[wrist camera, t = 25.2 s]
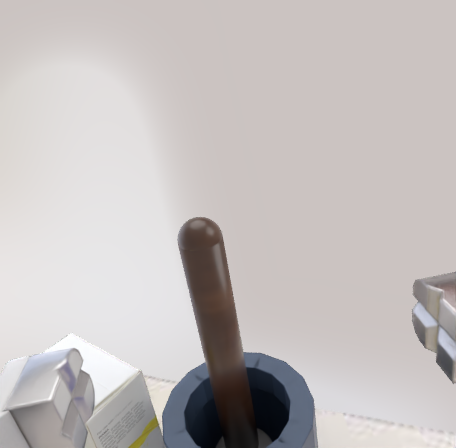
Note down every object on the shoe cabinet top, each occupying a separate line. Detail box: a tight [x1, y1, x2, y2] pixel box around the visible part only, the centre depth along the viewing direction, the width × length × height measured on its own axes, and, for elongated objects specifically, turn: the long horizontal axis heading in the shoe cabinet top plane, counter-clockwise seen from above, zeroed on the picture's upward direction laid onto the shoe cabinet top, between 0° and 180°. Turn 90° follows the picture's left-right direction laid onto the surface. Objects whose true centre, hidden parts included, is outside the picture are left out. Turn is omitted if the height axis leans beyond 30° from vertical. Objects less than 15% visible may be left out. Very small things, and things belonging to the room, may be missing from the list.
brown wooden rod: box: [178, 217, 272, 448], centre depth 24 cm, size 4×4×22 cm
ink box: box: [41, 333, 166, 448], centre depth 30 cm, size 9×5×12 cm, turn 54°
